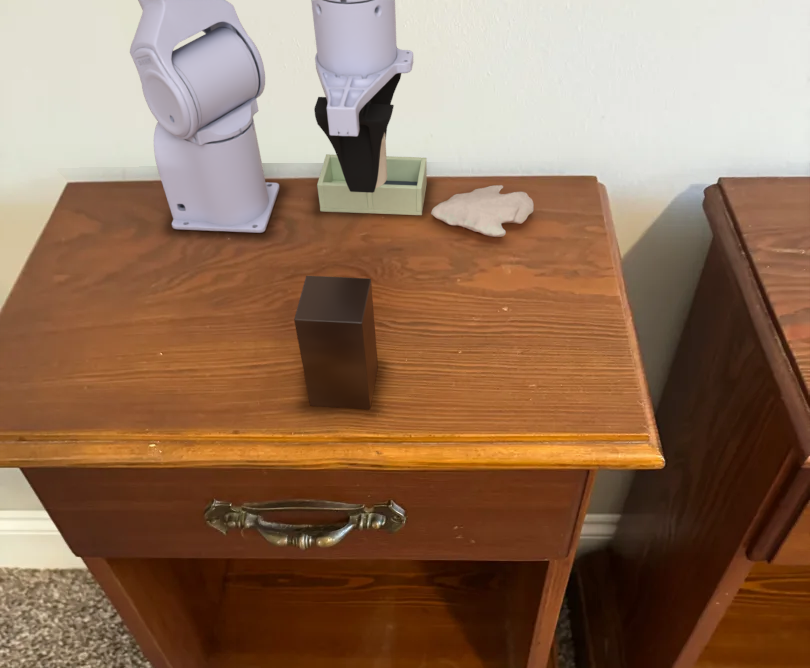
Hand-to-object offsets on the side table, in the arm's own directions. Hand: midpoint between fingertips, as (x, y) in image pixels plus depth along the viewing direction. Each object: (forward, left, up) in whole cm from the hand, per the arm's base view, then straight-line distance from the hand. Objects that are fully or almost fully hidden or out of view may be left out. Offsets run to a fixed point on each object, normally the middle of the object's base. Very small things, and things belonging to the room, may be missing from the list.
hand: (365, 175), depth 63 cm
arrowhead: (+9, +10, -11) cm, 17 cm away
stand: (-1, -14, -10) cm, 17 cm away
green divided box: (-2, +13, -10) cm, 17 cm away
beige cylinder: (0, 0, 0) cm, 0 cm away
